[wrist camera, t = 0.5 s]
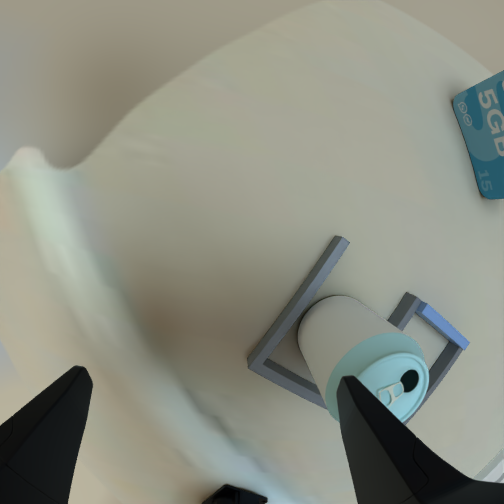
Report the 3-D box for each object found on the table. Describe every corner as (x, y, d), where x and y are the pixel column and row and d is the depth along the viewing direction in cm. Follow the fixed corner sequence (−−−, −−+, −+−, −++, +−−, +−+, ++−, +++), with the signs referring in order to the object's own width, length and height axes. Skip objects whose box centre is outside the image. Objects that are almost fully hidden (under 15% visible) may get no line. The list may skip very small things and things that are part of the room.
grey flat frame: (386, 428, 28) (396, 442, 25) (247, 358, 26) (248, 373, 23) (457, 336, 27) (472, 345, 24) (335, 235, 25) (346, 237, 22)
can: (320, 281, 26) (378, 325, 14) (380, 311, 26) (455, 361, 14) (282, 348, 26) (309, 430, 14) (344, 373, 27) (394, 448, 15)
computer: (529, 449, 33) (535, 453, 30) (467, 511, 34) (471, 517, 31) (524, 420, 31) (531, 426, 28) (446, 499, 32) (451, 506, 29)
